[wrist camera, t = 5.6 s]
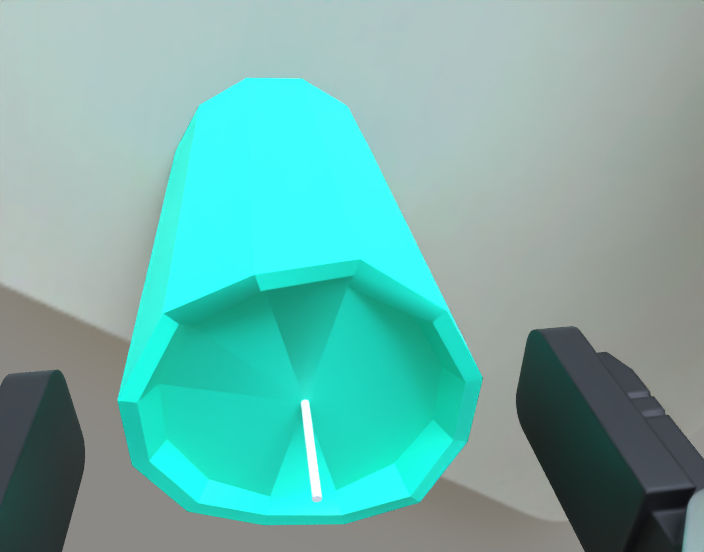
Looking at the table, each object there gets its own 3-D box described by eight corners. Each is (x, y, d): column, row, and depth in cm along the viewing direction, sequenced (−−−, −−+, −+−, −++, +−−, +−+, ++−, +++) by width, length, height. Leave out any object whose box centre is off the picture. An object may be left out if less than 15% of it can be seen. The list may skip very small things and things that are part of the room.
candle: (410, 173, 20) (588, 473, 10) (277, 290, 21) (312, 653, 11) (273, 28, 17) (326, 243, 7) (130, 176, 18) (2, 528, 8)
